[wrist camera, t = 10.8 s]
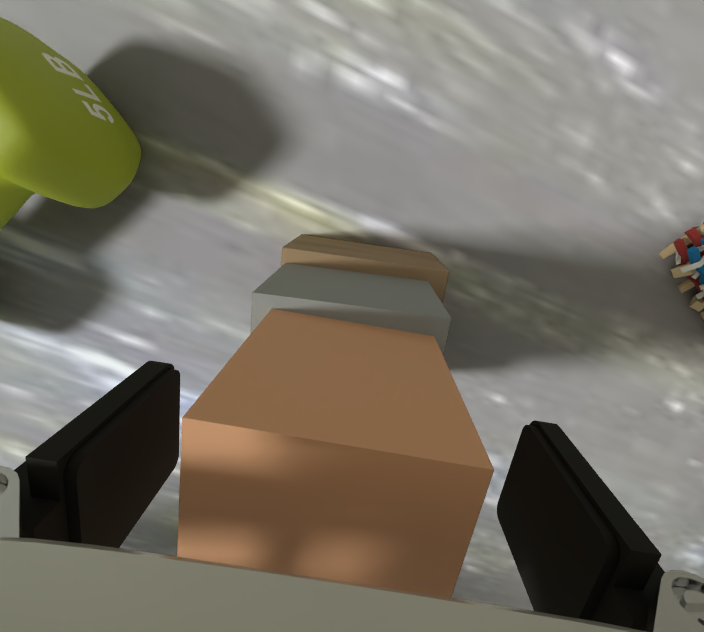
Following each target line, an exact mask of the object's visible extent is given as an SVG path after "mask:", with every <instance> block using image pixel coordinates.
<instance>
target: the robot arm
mask: <svg viewBox="0 0 704 632" xmlns="http://www.w3.org/2000/svg"><path fill="white" fill-rule="evenodd" d="M179 413H180V373H179V371H178V370H174V366H173V365H172V364H169V363H162V362H156V361H148V362H147V363H145V364H144V365H143V366H141V367H140V368H139V369H138V370H136V371H135V372H134V373H132V374H131V375H130V376H129V377H127V378H126V379H125V380H123V381H122V382H121V383H120V384H118V385H117V386H116V387H114V388H113V389H112V390H111V391H109V392H108V393H107V394H105V395H104V396H103V397H102V398H100V399H99V400H98V401H96V402H95V403H94V404H93V405H91V406H90V407H89V408H88V409H86V410H85V411H84V412H82V413H81V414H80V415H79V416H77V417H76V418H75V419H73V420H72V421H71V422H70V423H68V424H67V425H66V426H64V427H63V428H62V429H61V430H59V431H58V432H57V433H55V434H54V435H53V436H52V437H50V438H49V439H48V440H46V441H45V442H44V443H43V444H41V445H40V446H39V447H37V448H36V449H35V450H34V451H32V452H31V453H30V454H29V455H27V456H26V461H25V462H24V463H23V464H21V465H20V466H19V467H18V468H16V469H15V470H12V469H11V468H8V467H3V466H0V632H704V579H703V578H701V577H699V576H697V575H695V574H691V573H688V572H685V571H680V570H670V571H667V572H664V571H663V569H662V568H661V567H660V565H659V564H658V561H659V559H660V557H661V553H660V552H659V551H658V550H657V548H656V547H655V546H654V545H653V543H652V542H651V541H650V540H649V538H648V537H647V536H646V535H645V533H644V532H643V531H642V530H641V528H640V527H639V526H638V525H637V523H636V522H635V521H634V520H633V518H632V517H631V516H630V515H629V513H628V512H627V511H626V510H625V508H624V507H623V506H622V505H621V503H620V502H619V501H618V500H617V498H616V497H615V496H614V495H613V493H612V492H611V491H610V490H609V488H608V487H607V486H606V485H605V483H604V482H603V481H602V479H601V478H600V477H599V476H598V474H597V473H596V472H595V471H594V469H593V468H592V467H591V466H590V464H589V463H588V462H587V461H586V459H585V458H584V457H583V456H582V454H581V453H580V452H579V451H578V449H577V448H576V447H575V446H574V444H573V443H572V442H571V441H570V439H569V438H568V437H567V436H566V434H565V433H564V432H563V431H562V429H561V428H560V427H559V426H558V425H557V424H553V423H547V422H540V421H532V422H531V424H530V425H525V426H524V427H523V430H522V432H521V435H520V438H519V441H518V444H517V447H516V450H515V453H514V456H513V459H512V462H511V465H510V468H509V471H508V474H507V477H506V480H505V483H504V486H503V489H502V492H501V495H500V498H499V501H498V505H497V515H498V519H499V522H500V524H501V527H502V530H503V532H504V535H505V537H506V540H507V542H508V545H509V547H510V550H511V553H512V555H513V558H514V560H515V563H516V565H517V568H518V571H519V573H520V576H521V578H522V581H523V583H524V586H525V588H526V591H527V594H528V596H529V599H530V601H531V604H532V606H533V609H534V611H530V610H523V609H517V608H511V607H504V606H498V605H492V604H486V603H479V602H473V601H467V600H460V599H454V598H448V597H442V596H435V595H429V594H423V593H416V592H410V591H403V590H397V589H390V588H384V587H377V586H371V585H364V584H358V583H351V582H345V581H338V580H332V579H325V578H318V577H312V576H305V575H299V574H292V573H286V572H279V571H272V570H265V569H259V568H252V567H245V566H238V565H231V564H224V563H218V562H211V561H204V560H197V559H190V558H183V557H177V556H170V555H163V554H156V553H149V552H142V551H135V550H128V549H121V548H119V547H120V546H121V544H122V543H123V541H124V540H125V538H126V537H127V536H128V534H129V533H130V531H131V530H132V528H133V527H134V525H135V524H136V523H137V521H138V520H139V518H140V517H141V515H142V514H143V513H144V511H145V510H146V508H147V507H148V505H149V504H150V503H151V501H152V500H153V498H154V497H155V495H156V494H157V493H158V491H159V490H160V488H161V487H162V485H163V484H164V482H165V481H166V480H167V478H168V477H169V475H170V474H171V472H172V471H173V470H174V468H175V466H176V464H177V461H178V457H179Z"/></svg>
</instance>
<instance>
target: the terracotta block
mask: <svg viewBox="0 0 704 632" xmlns="http://www.w3.org/2000/svg"><path fill="white" fill-rule="evenodd" d="M493 472H494V468H493V466H492V464H491V462H490V460H489V457H488V455H487V453H486V451H485V448H484V446H483V444H482V442H481V439H480V437H479V435H478V433H477V431H476V428H475V426H474V424H473V422H472V419H471V417H470V415H469V413H468V410H467V408H466V406H465V404H464V402H463V399H462V397H461V395H460V393H459V390H458V388H457V386H456V384H455V382H454V379H453V377H452V375H451V373H450V370H449V368H448V366H447V364H446V361H445V359H444V357H443V355H442V353H441V350H440V348H439V346H438V344H437V341H436V339H435V337H434V336H429V335H423V334H417V333H411V332H406V331H400V330H394V329H388V328H382V327H377V326H371V325H365V324H359V323H353V322H348V321H342V320H336V319H330V318H324V317H319V316H313V315H307V314H301V313H295V312H289V311H284V310H278V309H271V310H270V311H269V312H268V314H267V315H266V316H265V317H264V319H263V320H262V321H261V322H260V323H259V325H258V326H257V327H256V328H255V330H254V331H253V332H252V333H251V334H250V336H249V337H248V338H247V339H246V341H245V342H244V343H243V344H242V345H241V347H240V348H239V349H238V350H237V352H236V353H235V354H234V355H233V356H232V358H231V359H230V360H229V361H228V363H227V364H226V365H225V366H224V367H223V369H222V370H221V371H220V372H219V374H218V375H217V376H216V377H215V378H214V380H213V381H212V382H211V383H210V385H209V386H208V387H207V388H206V389H205V391H204V392H203V393H202V394H201V396H200V397H199V398H198V399H197V400H196V402H195V403H194V404H193V405H192V407H191V408H190V409H189V410H188V411H187V413H186V414H185V415H184V416H183V418H182V443H181V469H180V494H179V520H178V546H177V557H183V558H190V559H197V560H204V561H211V562H218V563H224V564H231V565H238V566H245V567H252V568H259V569H265V570H272V571H279V572H286V573H292V574H299V575H305V576H312V577H318V578H325V579H332V580H338V581H345V582H351V583H358V584H364V585H371V586H377V587H384V588H390V589H397V590H403V591H410V592H416V593H423V594H429V595H435V596H442V597H448V598H451V596H452V593H453V590H454V587H455V584H456V581H457V578H458V575H459V573H460V570H461V567H462V564H463V561H464V558H465V555H466V552H467V549H468V546H469V543H470V540H471V537H472V534H473V531H474V528H475V525H476V522H477V519H478V516H479V513H480V510H481V507H482V504H483V502H484V499H485V496H486V493H487V490H488V487H489V484H490V481H491V478H492V475H493Z"/></svg>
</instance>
